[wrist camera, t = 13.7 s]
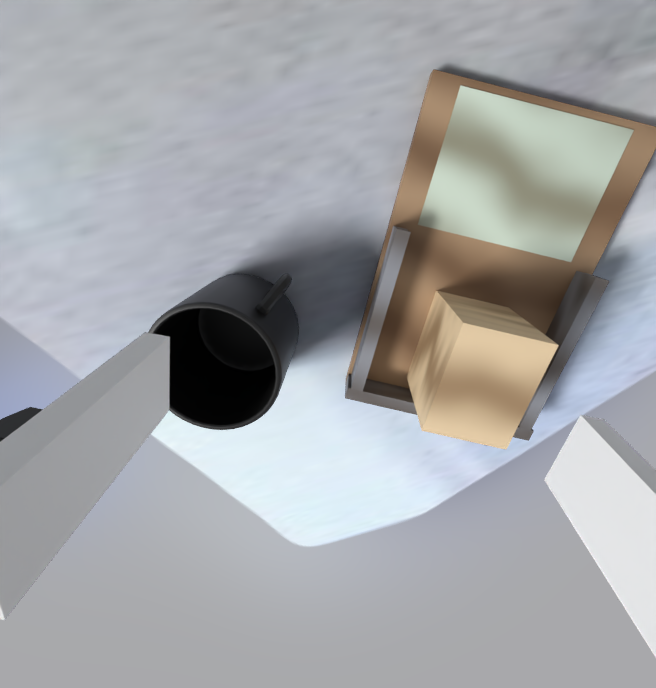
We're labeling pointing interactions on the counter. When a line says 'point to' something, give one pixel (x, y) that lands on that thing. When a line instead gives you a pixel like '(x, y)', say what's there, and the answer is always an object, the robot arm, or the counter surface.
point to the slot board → (497, 225)
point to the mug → (229, 350)
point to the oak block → (476, 369)
